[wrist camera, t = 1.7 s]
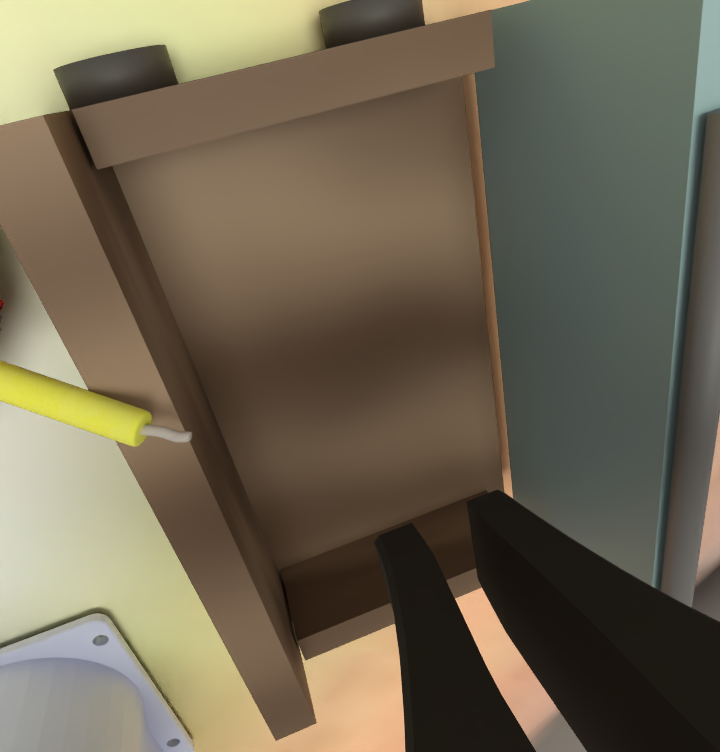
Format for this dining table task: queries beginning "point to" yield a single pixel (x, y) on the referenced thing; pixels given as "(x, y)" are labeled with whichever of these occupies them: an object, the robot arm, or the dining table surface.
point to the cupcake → (80, 407)
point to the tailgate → (608, 269)
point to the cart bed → (278, 313)
